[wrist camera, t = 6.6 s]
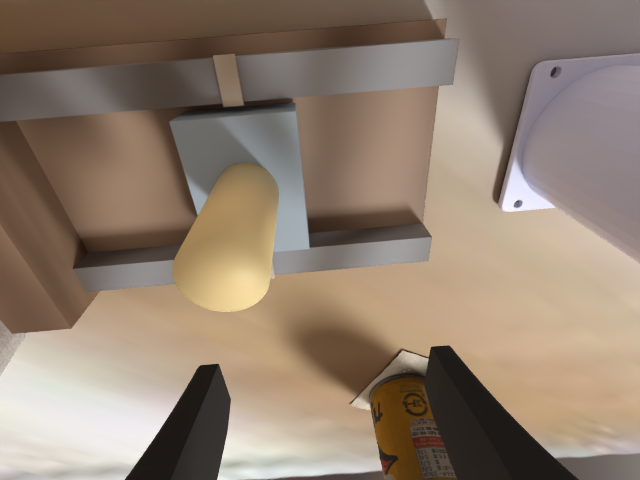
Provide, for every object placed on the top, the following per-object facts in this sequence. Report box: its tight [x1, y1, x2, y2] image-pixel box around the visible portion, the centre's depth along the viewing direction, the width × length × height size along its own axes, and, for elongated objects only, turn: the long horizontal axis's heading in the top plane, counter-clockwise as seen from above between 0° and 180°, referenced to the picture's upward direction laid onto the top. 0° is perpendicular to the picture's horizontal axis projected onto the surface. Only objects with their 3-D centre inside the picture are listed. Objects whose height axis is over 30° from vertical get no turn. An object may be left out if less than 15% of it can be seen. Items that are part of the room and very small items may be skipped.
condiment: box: [351, 351, 457, 480], centre depth 25 cm, size 7×8×12 cm
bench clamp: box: [0, 19, 459, 334], centre depth 16 cm, size 22×12×5 cm, turn 94°
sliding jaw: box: [169, 102, 310, 312], centre depth 13 cm, size 5×7×8 cm
